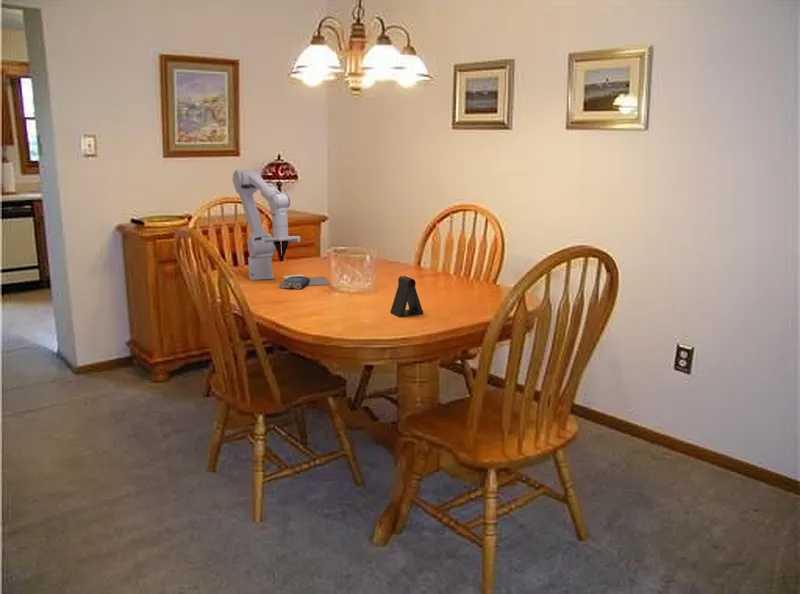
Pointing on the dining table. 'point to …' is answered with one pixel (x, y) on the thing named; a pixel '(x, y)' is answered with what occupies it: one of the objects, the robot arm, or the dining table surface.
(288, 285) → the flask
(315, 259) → the dining table surface
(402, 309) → the phone stand
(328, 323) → the dining table surface
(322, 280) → the board
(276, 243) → the robot arm
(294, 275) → the napkin
